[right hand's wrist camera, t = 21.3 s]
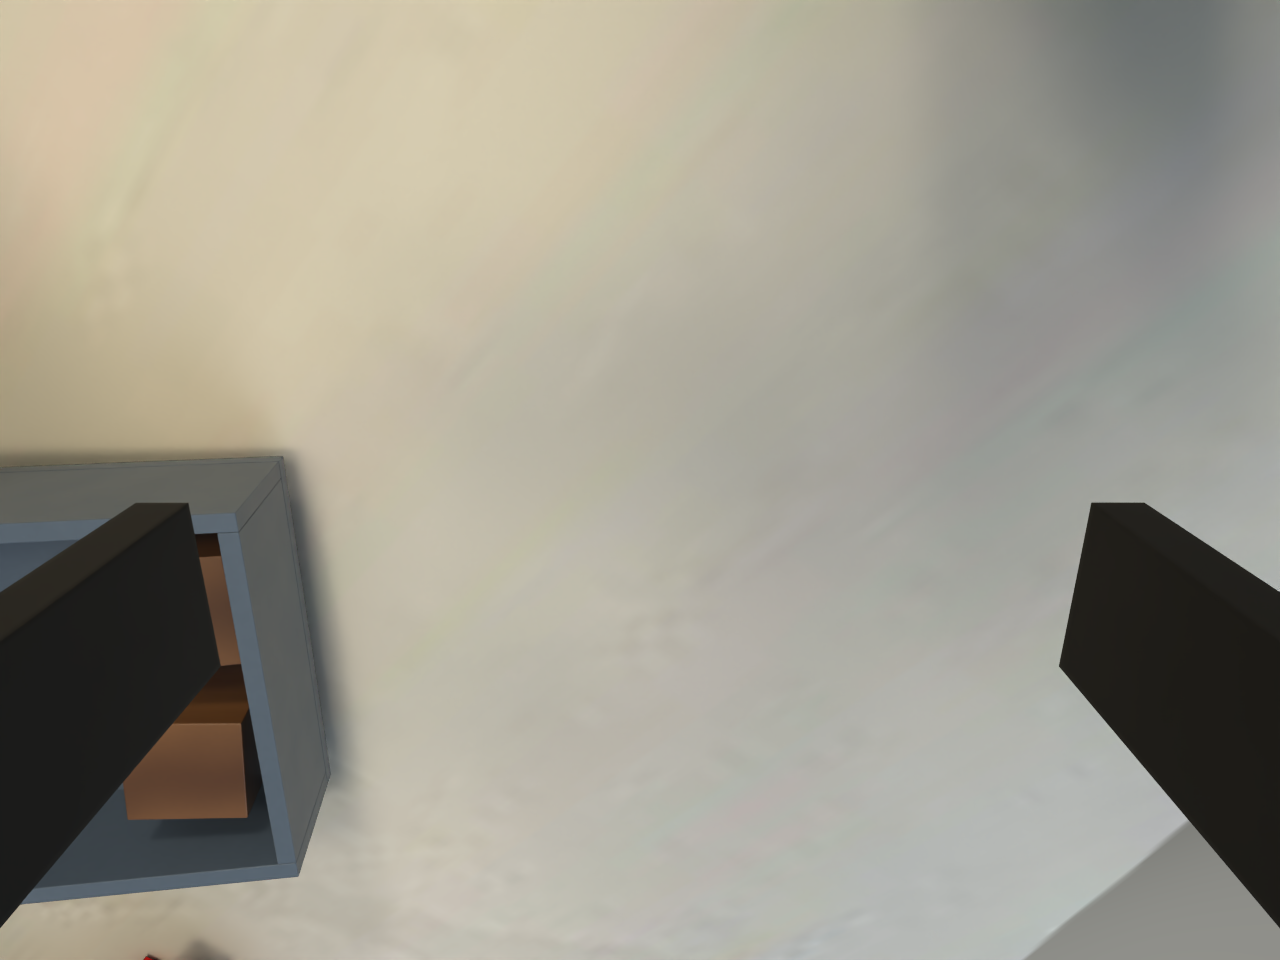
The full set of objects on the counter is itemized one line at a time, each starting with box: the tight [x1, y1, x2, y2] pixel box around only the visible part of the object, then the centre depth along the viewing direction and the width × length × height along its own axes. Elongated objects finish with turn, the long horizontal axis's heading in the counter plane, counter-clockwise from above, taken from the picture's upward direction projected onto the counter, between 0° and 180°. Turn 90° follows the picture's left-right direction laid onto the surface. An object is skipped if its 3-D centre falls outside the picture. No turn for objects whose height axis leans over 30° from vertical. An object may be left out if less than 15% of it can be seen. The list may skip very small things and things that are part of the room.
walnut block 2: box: [195, 533, 241, 666], centre depth 37 cm, size 5×5×5 cm
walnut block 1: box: [123, 664, 263, 820], centre depth 39 cm, size 5×5×5 cm
